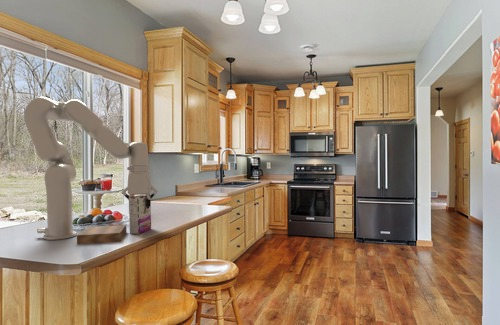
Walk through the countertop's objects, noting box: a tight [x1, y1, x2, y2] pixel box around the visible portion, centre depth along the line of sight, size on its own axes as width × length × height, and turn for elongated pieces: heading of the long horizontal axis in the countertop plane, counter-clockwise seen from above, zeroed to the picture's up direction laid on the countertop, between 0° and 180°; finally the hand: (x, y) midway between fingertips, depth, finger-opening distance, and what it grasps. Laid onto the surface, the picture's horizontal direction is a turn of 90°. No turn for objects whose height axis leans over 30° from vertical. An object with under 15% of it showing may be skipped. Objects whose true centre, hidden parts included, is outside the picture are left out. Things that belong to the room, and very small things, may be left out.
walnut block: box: [76, 224, 127, 245], centre depth 141 cm, size 16×16×4 cm
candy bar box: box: [128, 194, 152, 235], centre depth 152 cm, size 11×5×16 cm, turn 169°
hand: (140, 208), depth 152 cm, fingers closed on candy bar box, 6 cm apart
